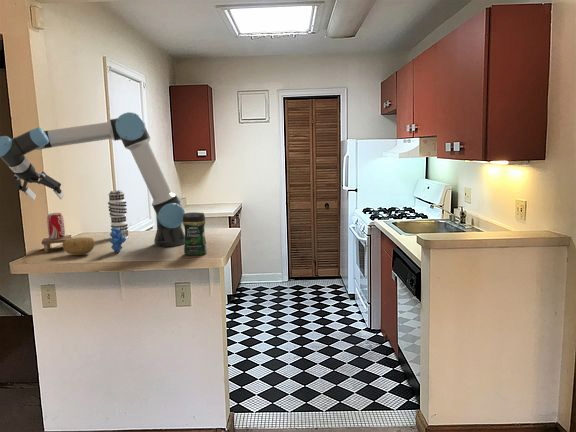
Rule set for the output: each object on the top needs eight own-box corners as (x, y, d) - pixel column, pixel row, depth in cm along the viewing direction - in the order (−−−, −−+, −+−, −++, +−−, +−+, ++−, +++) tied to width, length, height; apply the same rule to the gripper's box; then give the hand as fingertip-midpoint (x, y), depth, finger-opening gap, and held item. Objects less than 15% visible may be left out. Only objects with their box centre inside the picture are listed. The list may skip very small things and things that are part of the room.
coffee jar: (182, 256, 204) (179, 214, 201) (188, 251, 212) (185, 211, 209) (204, 256, 203) (201, 213, 200) (209, 251, 211) (206, 211, 208)
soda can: (58, 240, 221) (55, 214, 219) (45, 239, 222) (42, 214, 220) (68, 237, 227) (66, 212, 225) (56, 236, 229) (53, 212, 227)
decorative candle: (122, 240, 243) (118, 191, 239) (107, 239, 245) (103, 191, 241) (133, 236, 251) (129, 190, 247) (117, 235, 254) (113, 190, 250)
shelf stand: (71, 250, 222) (70, 239, 221) (42, 253, 218) (41, 242, 217) (72, 245, 233) (71, 234, 232) (45, 247, 229) (44, 237, 228)
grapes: (123, 255, 209) (121, 228, 207) (108, 255, 209) (105, 229, 207) (130, 249, 220) (128, 224, 218) (115, 249, 220) (113, 224, 218)
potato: (69, 252, 217) (68, 235, 216) (99, 252, 216) (97, 235, 215) (58, 258, 207) (56, 240, 206) (89, 257, 207) (87, 239, 205)
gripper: (-9, 175, 198) (20, 205, 215) (46, 172, 195) (71, 203, 212) (-2, 161, 202) (26, 192, 219) (52, 159, 199) (76, 190, 216)
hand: (48, 197), depth 216 cm, fingers open, 13 cm apart
